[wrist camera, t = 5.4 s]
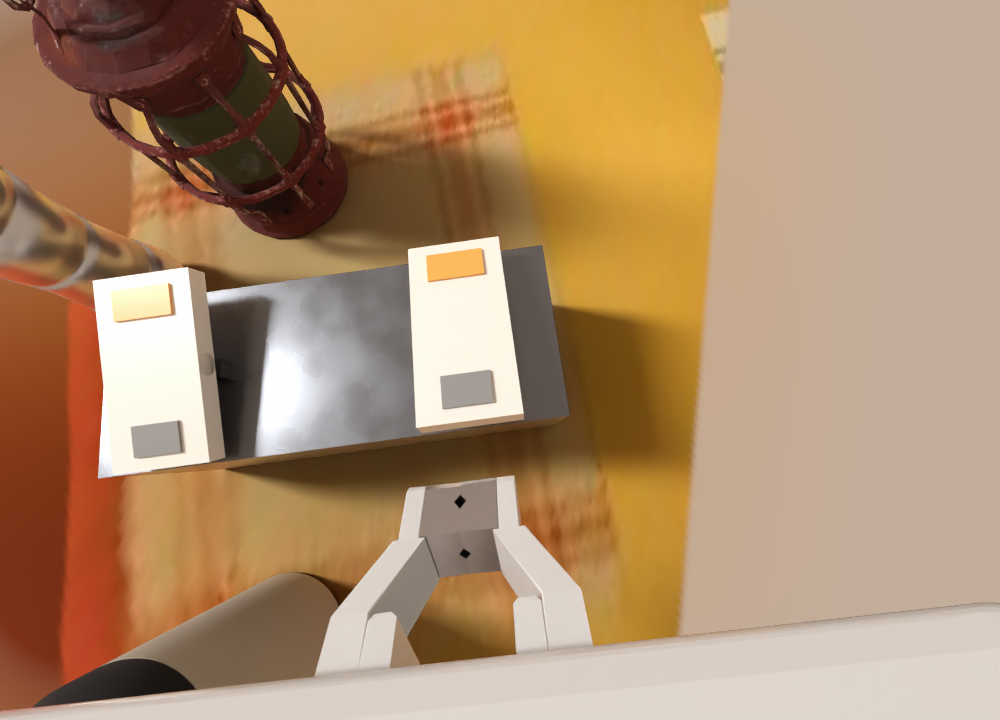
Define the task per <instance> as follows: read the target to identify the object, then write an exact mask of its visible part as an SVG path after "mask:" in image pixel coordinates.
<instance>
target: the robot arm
mask: <svg viewBox="0 0 1000 720" xmlns="http://www.w3.org/2000/svg"><path fill="white" fill-rule="evenodd" d="M492 571H501V572H502V574H503V575H504V577H505V578H506V580H507V581H508V583H509V584H510V586H511V587H512V589H513V590H514V592H515V593H516V595H517V596H518V598H517V599H516V601H515V602H514V603H513V607H514V624H515V641H516V654H513V655H504V656H495V657H486V658H477V659H468V660H459V661H450V662H441V663H432V664H423V665H420V663H419V661H418V659H417V657H416V655H415V653H414V651H413V649H412V647H411V645H410V643H409V641H408V639H407V636H408V634H409V633H410V631H411V629H412V627H413V626H414V624H415V622H416V620H417V619H418V617H419V615H420V614H421V612H422V610H423V608H424V607H425V605H426V603H427V601H428V600H429V598H430V596H431V594H432V593H433V591H434V589H435V587H436V586H437V584H438V582H439V580H440V579H439V578H442V577H449V576H456V575H463V574H470V573H481V572H492ZM0 720H1000V603H973V604H964V605H955V606H947V607H938V608H930V609H920V610H911V611H902V612H893V613H883V614H875V615H865V616H856V617H847V618H838V619H830V620H821V621H812V622H802V623H794V624H786V625H775V626H766V627H758V628H748V629H740V630H730V631H722V632H713V633H704V634H695V635H686V636H677V637H668V638H659V639H650V640H641V641H632V642H623V643H614V644H605V645H595V646H593V643H592V638H591V633H590V629H589V624H588V619H587V614H586V610H585V605H584V600H583V595H582V591H581V588H580V587H579V586H578V585H577V584H576V583H575V582H574V580H573V579H572V578H571V577H570V576H569V575H568V574H567V572H566V571H565V570H564V569H563V568H562V567H561V566H560V565H559V563H558V562H557V561H556V560H555V559H554V558H553V557H552V555H551V554H550V553H549V552H548V551H547V550H546V549H545V547H544V546H543V545H542V544H541V543H540V542H539V541H538V539H537V538H536V537H535V536H534V535H533V534H532V533H531V532H530V530H529V529H528V528H527V527H526V526H522V525H521V517H520V510H519V503H518V495H517V488H516V481H515V476H514V475H513V476H505V477H497V478H496V477H495V478H488V479H480V480H473V481H465V482H462V483H451V484H440V485H430V486H421V487H412V488H409V489H408V491H407V493H406V499H405V505H404V511H403V516H402V522H401V528H400V534H399V540H396V541H393V542H392V543H391V544H390V545H389V547H388V548H387V549H386V550H385V552H384V553H383V554H382V555H381V556H380V558H379V559H378V560H377V561H376V563H375V564H374V565H373V566H372V567H371V569H370V570H369V571H368V572H367V573H366V575H365V576H364V577H363V578H362V580H361V581H360V582H359V583H358V584H357V586H356V587H355V588H354V589H353V590H352V592H351V593H350V594H349V595H348V597H347V598H346V599H345V600H344V601H343V603H342V604H341V605H340V606H339V608H338V609H337V610H336V611H335V612H334V614H333V615H332V616H331V618H330V622H329V625H328V629H327V633H326V636H325V640H324V644H323V647H322V651H321V654H320V658H319V662H318V665H317V669H316V673H315V676H314V677H306V678H297V679H288V680H279V681H270V682H261V683H252V684H243V685H234V686H225V687H216V688H207V689H198V690H189V691H180V692H171V693H162V694H153V695H144V696H135V697H126V698H117V699H108V700H99V701H89V702H80V703H71V704H62V705H53V706H44V707H35V708H26V709H17V710H7V711H0Z"/></svg>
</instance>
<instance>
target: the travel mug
mask: <svg viewBox="0 0 1000 720" xmlns="http://www.w3.org/2000/svg"><path fill="white" fill-rule="evenodd" d="M338 608H339V606H338V604H337V602H336V600H335V598H334V596H333V595H332V593H331V592H330V591H329V589H328V588H327V587H326V586H325V585H324V584H322V583H321V582H320V581H318V580H317V579H315V578H313V577H311V576H308V575H305V574H301V573H283V574H279V575H276V576H273V577H271V578H269V579H267V580H265V581H263V582H261V583H259V584H257V585H255V586H253V587H251V588H249V589H248V590H246V591H244V592H242V593H240V594H238V595H236V596H234V597H232V598H230V599H228V600H227V601H225V602H223V603H221V604H219V605H217V606H215V607H213V608H211V609H209V610H207V611H205V612H204V613H202V614H200V615H198V616H196V617H194V618H192V619H190V620H188V621H186V622H184V623H183V624H181V625H179V626H177V627H175V628H173V629H171V630H169V631H167V632H165V633H163V634H161V635H160V636H158V637H156V638H154V639H152V640H150V641H148V642H146V643H144V644H142V645H140V646H139V647H137V648H135V649H133V650H131V651H129V652H127V653H125V654H123V655H121V656H119V657H118V658H116V659H114V660H112V661H110V662H108V663H106V664H104V665H102V666H100V667H98V668H96V669H95V670H93V671H91V672H89V673H87V674H85V675H83V676H81V677H79V678H77V679H75V680H74V681H72V682H70V683H68V684H66V685H64V686H62V687H60V688H59V689H57V690H55V691H53V692H51V693H50V694H49V695H47V696H46V697H44V698H43V699H42V700H40V701H39V702H38V703H37V704H36V705H34V706H33V707H32V708H35V707H44V706H53V705H62V704H71V703H80V702H89V701H99V700H108V699H117V698H126V697H135V696H144V695H153V694H162V693H171V692H180V691H189V690H198V689H207V688H216V687H225V686H234V685H243V684H252V683H261V682H270V681H279V680H288V679H297V678H306V677H314V676H315V673H316V669H317V665H318V662H319V658H320V654H321V651H322V647H323V644H324V640H325V636H326V633H327V629H328V625H329V622H330V618H331V616H332V615H333V614H334V612H335V611H336V610H337V609H338Z"/></svg>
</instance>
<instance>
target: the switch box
mask: <svg viewBox="0 0 1000 720" xmlns="http://www.w3.org/2000/svg"><path fill="white" fill-rule="evenodd" d="M500 252H501V259H502V266H503V273H504V280H505V287H506V294H507V301H508V308H509V315H510V322H511V329H512V335H513V342H514V349H515V356H516V363H517V370H518V377H519V384H520V391H521V398H522V405H523V412H524V420H518V421H510V422H503V423H495V424H488V425H480V426H473V427H465V428H458V429H450V430H443V431H435V432H428V433H421V432H420V431H419V430H418V429H417V428H416V415H415V393H414V371H413V349H412V327H411V305H410V283H409V264H405V265H398V266H391V267H383V268H376V269H369V270H362V271H355V272H348V273H341V274H334V275H327V276H319V277H312V278H305V279H298V280H291V281H284V282H277V283H270V284H262V285H255V286H248V287H241V288H234V289H227V290H220V291H213V292H207V299H208V308H209V317H210V326H211V334H212V343H213V352H214V361H215V370H216V379H217V388H218V396H219V405H220V414H221V423H222V432H223V441H224V450H225V458H222V459H218V460H215V461H212V462H207V463H200V464H192V465H185V466H177V467H170V468H162V469H154V470H147V471H139V472H132V473H124V474H117V475H113V471H112V461H111V451H110V442H109V432H108V423H107V413H106V403H105V394H104V395H103V410H102V426H101V441H100V456H99V472H98V478H110V477H124V476H137V475H151V474H164V473H178V472H191V471H205V470H219V469H228V468H236V467H243V466H251V465H258V464H266V463H273V462H281V461H288V460H296V459H304V458H311V457H319V456H326V455H334V454H341V453H349V452H356V451H364V450H371V449H379V448H386V447H394V446H402V445H409V444H417V443H424V442H432V441H439V440H447V439H454V438H462V437H469V436H477V435H485V434H492V433H500V432H507V431H515V430H522V429H530V428H537V427H545V426H552V425H556V424H557V423H559V422H561V421H562V420H564V419H565V418H567V417H569V416H570V414H569V408H568V402H567V395H566V389H565V383H564V377H563V371H562V365H561V358H560V352H559V346H558V340H557V334H556V328H555V321H554V315H553V309H552V303H551V297H550V291H549V284H548V278H547V272H546V266H545V260H544V254H543V247H542V245H540V246H533V247H526V248H519V249H511V250H504V251H500Z"/></svg>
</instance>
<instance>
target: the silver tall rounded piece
mask: <svg viewBox="0 0 1000 720" xmlns="http://www.w3.org/2000/svg"><path fill="white" fill-rule="evenodd" d="M179 268H184V267H183V266H182V265H181V264H180V263H179V262H178V261H177V260H176V259H174V258H173V257H172V256H171V255H169V254H168V253H167V252H165V251H164V250H162V249H159V248H156V247H154V246H151V245H149V244H146V243H143V242H140V241H137V240H133V239H129V238H127V237H124V236H122V235H120V234H117V233H115V232H112V231H110V230H108V229H106V228H103V227H101V226H99V225H96V224H94V223H92V222H89V221H88V220H86V219H84V218H83V217H81V216H79V215H78V214H75V213H73V212H72V211H70V210H69V209H67V208H65V207H64V206H62V205H60V204H58V203H57V202H55V201H53V200H51V199H50V198H48V197H46V196H45V195H43V194H42V193H40V192H39V191H37V190H36V189H34V188H33V187H31V186H30V185H28V184H27V183H25V182H24V181H22V180H21V179H19V178H18V177H17V176H15V175H14V174H12V173H11V172H9V171H8V170H6V169H4V168H3V167H1V166H0V278H2V279H6V280H10V281H13V282H17V283H20V284H24V285H30V286H32V287H35V288H38V289H42V290H46V291H49V292H52V293H55V294H57V295H60V296H62V297H65V298H67V299H70V300H72V301H74V302H77V303H79V304H82V305H84V306H87V307H89V308H91V309H92V310H94V311H96V307H95V298H94V288H93V281H95V280H102V279H109V278H116V277H123V276H130V275H137V274H144V273H151V272H158V271H165V270H172V269H179Z"/></svg>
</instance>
